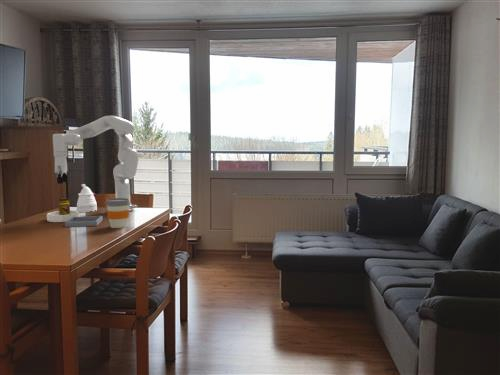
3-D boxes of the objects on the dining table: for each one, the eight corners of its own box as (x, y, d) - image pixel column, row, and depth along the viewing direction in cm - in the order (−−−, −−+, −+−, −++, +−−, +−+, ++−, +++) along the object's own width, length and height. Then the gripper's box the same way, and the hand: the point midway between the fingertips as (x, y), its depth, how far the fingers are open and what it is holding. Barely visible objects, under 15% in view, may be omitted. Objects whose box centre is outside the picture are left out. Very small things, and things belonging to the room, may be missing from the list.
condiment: (68, 218, 251) (67, 199, 250) (54, 219, 250) (53, 199, 249) (72, 216, 258) (71, 197, 257) (58, 217, 257) (57, 197, 256)
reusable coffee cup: (106, 229, 224) (104, 201, 222) (107, 224, 236) (106, 198, 234) (130, 227, 227) (129, 200, 225) (130, 223, 239) (129, 197, 237)
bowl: (81, 216, 264) (81, 210, 263) (74, 221, 247) (74, 214, 247) (52, 217, 261) (52, 211, 261) (43, 222, 244) (43, 215, 244)
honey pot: (72, 211, 282) (71, 185, 280) (85, 208, 295) (84, 183, 293) (88, 212, 279) (87, 185, 277) (101, 209, 291) (99, 183, 289)
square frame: (102, 220, 251) (102, 216, 250) (97, 225, 234) (96, 221, 234) (73, 221, 248) (72, 217, 248) (65, 226, 231) (64, 222, 231)
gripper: (58, 154, 258) (60, 181, 260) (49, 155, 241) (51, 184, 243) (71, 153, 260) (72, 181, 262) (63, 154, 243) (65, 183, 245)
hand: (62, 182), depth 252 cm, fingers open, 9 cm apart
